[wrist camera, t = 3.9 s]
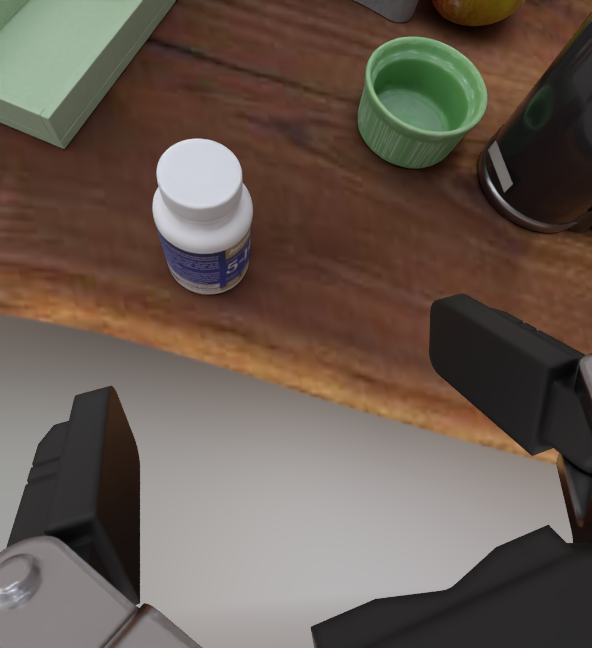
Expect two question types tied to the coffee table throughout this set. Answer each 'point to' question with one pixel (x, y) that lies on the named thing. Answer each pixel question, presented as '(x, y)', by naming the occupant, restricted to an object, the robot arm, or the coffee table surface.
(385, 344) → the coffee table surface
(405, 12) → the hip flask
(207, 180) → the pill bottle
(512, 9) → the fruit
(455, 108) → the ramekin
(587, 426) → the robot arm
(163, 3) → the tray
